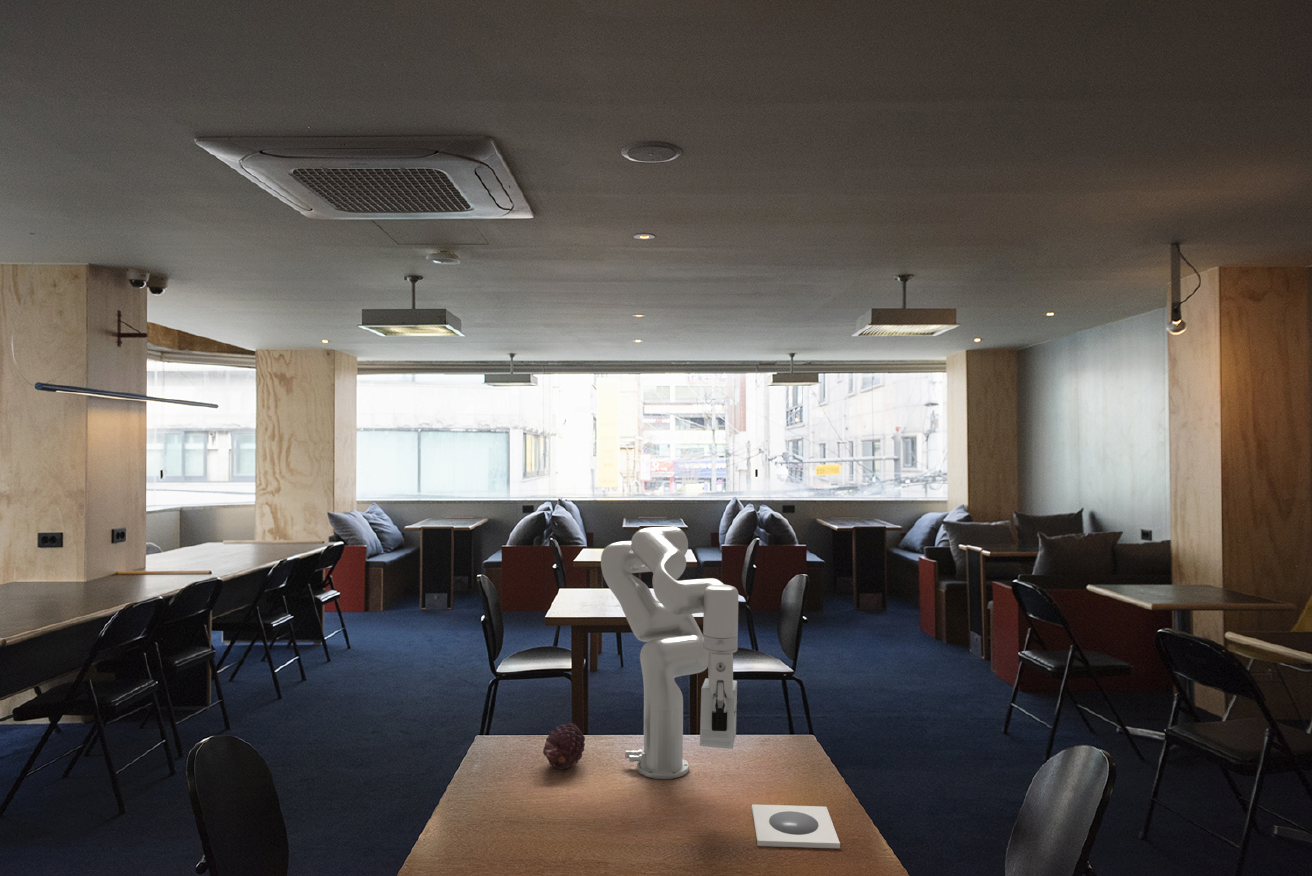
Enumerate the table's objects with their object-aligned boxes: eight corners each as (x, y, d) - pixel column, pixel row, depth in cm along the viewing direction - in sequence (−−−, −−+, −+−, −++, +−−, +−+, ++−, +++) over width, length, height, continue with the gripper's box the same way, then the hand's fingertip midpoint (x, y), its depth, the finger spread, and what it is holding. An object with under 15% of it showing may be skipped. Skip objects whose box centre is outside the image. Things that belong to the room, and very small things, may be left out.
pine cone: (556, 750, 205) (556, 711, 205) (593, 753, 203) (594, 713, 203) (534, 778, 187) (534, 735, 187) (575, 781, 186) (575, 738, 186)
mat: (757, 846, 156) (757, 840, 156) (751, 809, 172) (751, 804, 172) (839, 848, 155) (839, 843, 155) (826, 811, 171) (826, 806, 171)
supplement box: (733, 749, 169) (734, 690, 169) (698, 746, 170) (700, 687, 170) (736, 736, 176) (738, 679, 176) (703, 733, 177) (704, 677, 177)
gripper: (739, 654, 164) (738, 739, 164) (735, 633, 181) (733, 710, 182) (703, 653, 164) (701, 738, 164) (702, 632, 182) (700, 709, 182)
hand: (718, 722), depth 173 cm, fingers closed on supplement box, 7 cm apart
